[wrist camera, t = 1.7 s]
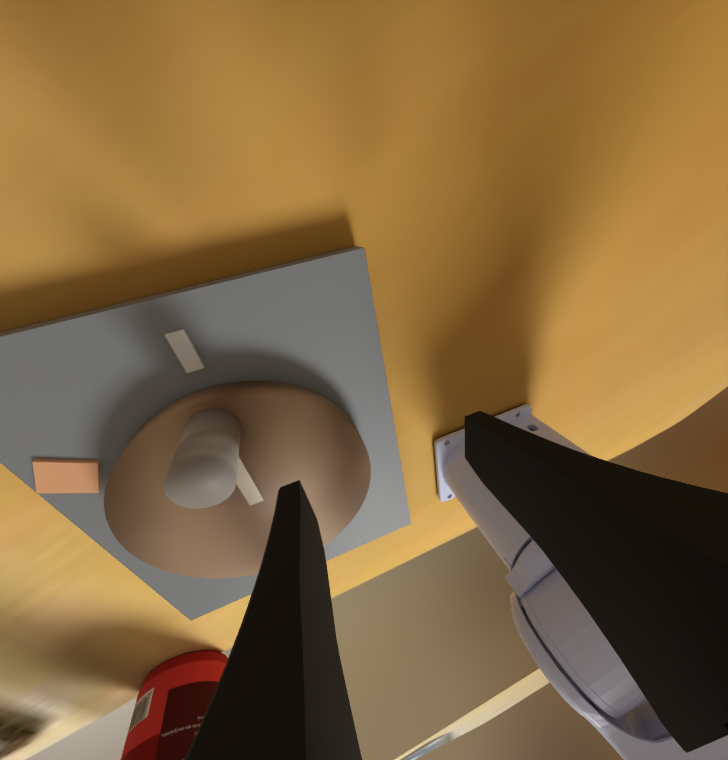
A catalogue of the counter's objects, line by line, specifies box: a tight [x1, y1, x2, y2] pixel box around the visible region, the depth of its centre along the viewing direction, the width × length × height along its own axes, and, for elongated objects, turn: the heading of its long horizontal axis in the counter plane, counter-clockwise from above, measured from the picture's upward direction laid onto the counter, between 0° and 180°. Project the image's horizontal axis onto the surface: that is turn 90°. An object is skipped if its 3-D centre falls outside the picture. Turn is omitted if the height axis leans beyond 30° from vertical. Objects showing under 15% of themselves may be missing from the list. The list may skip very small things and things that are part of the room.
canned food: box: [121, 650, 228, 760], centre depth 23 cm, size 8×8×11 cm
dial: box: [104, 381, 371, 579], centre depth 16 cm, size 14×14×5 cm
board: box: [0, 246, 411, 620], centre depth 19 cm, size 19×23×2 cm
